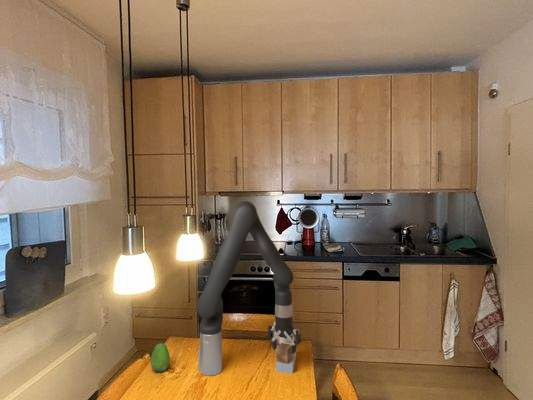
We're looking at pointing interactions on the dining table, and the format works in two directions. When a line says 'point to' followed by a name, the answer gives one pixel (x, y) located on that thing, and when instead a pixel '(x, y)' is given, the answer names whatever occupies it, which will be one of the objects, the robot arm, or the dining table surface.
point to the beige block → (294, 353)
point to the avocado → (160, 358)
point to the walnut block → (284, 353)
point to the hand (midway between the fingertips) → (284, 350)
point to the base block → (286, 366)
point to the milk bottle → (280, 339)
